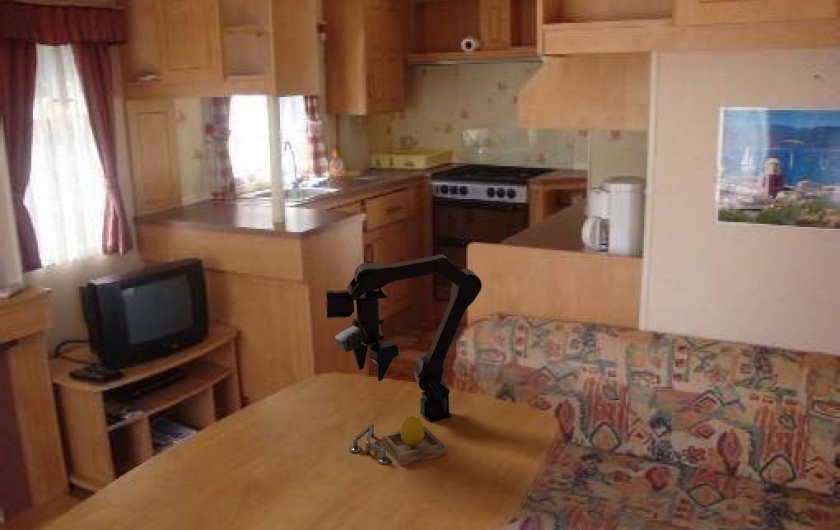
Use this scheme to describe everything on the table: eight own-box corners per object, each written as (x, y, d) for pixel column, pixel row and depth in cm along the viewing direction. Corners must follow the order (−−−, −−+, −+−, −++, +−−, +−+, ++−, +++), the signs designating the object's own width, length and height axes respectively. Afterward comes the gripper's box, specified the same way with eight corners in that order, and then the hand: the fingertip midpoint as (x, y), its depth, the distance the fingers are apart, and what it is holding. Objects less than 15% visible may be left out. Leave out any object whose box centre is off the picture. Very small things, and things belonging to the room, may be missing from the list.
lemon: (402, 441, 187) (401, 410, 185) (425, 442, 186) (425, 411, 184) (399, 452, 181) (398, 420, 179) (423, 453, 181) (422, 421, 179)
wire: (373, 434, 192) (372, 423, 191) (396, 461, 178) (396, 449, 178) (342, 441, 189) (341, 430, 188) (363, 469, 175) (363, 457, 175)
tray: (424, 435, 191) (424, 425, 190) (444, 455, 181) (443, 444, 180) (382, 445, 186) (381, 435, 186) (400, 465, 177) (399, 455, 176)
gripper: (321, 312, 196) (324, 371, 199) (358, 331, 181) (361, 394, 184) (359, 304, 202) (362, 361, 205) (399, 322, 187) (401, 383, 190)
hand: (370, 375), depth 196 cm, fingers open, 9 cm apart
